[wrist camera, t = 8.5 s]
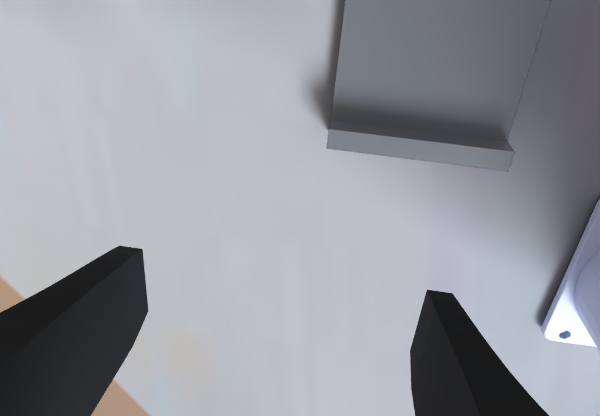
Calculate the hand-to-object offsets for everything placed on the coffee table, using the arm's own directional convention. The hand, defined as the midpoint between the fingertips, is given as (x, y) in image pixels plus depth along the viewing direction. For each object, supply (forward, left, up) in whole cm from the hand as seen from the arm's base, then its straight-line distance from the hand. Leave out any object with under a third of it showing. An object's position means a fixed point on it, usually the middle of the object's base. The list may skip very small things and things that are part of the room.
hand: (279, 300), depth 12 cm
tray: (-4, -5, -10) cm, 12 cm away
